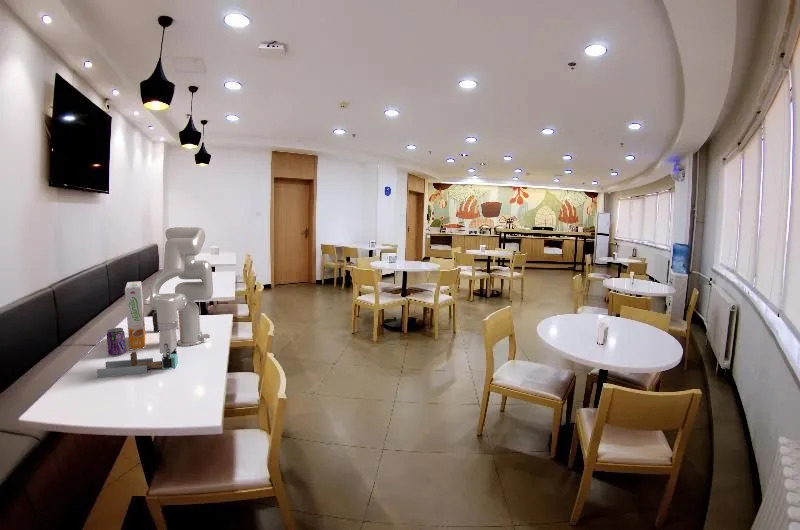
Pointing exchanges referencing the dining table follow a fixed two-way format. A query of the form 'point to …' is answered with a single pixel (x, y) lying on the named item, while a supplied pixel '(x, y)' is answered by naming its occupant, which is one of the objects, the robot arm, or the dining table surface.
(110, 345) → the beverage can
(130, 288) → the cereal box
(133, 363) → the plunger rod
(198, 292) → the robot arm
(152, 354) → the dining table surface
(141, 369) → the grey shallow tray
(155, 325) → the battery
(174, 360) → the block
